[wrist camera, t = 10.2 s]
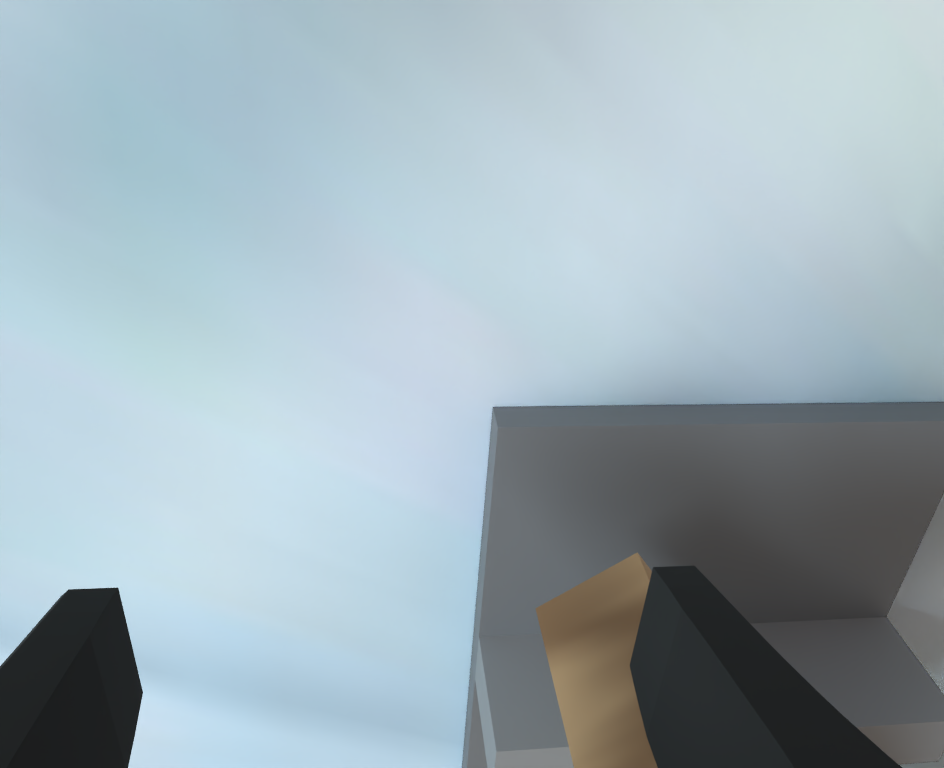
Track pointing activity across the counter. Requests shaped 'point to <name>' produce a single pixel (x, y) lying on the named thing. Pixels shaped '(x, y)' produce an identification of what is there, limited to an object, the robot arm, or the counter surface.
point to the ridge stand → (711, 548)
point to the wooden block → (599, 665)
